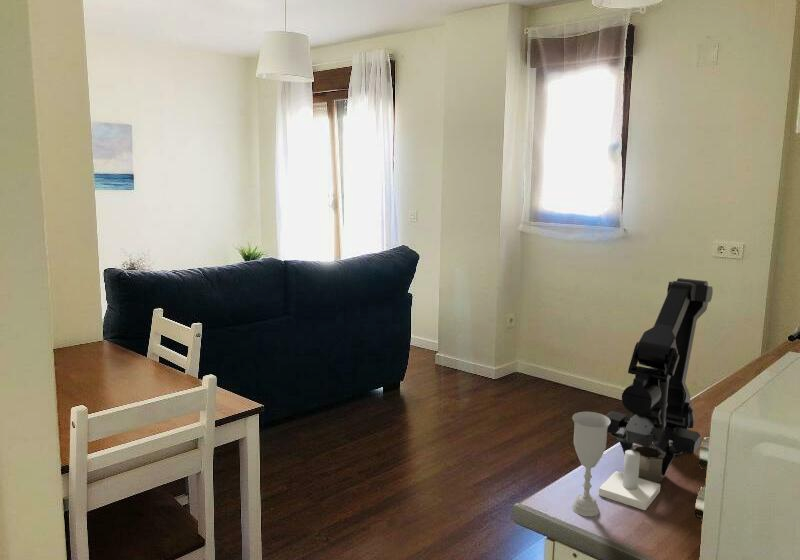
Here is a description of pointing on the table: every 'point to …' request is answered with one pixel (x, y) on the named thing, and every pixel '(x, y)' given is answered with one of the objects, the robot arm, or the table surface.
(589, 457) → the chalice
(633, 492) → the post plate
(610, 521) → the table surface
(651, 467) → the hub
